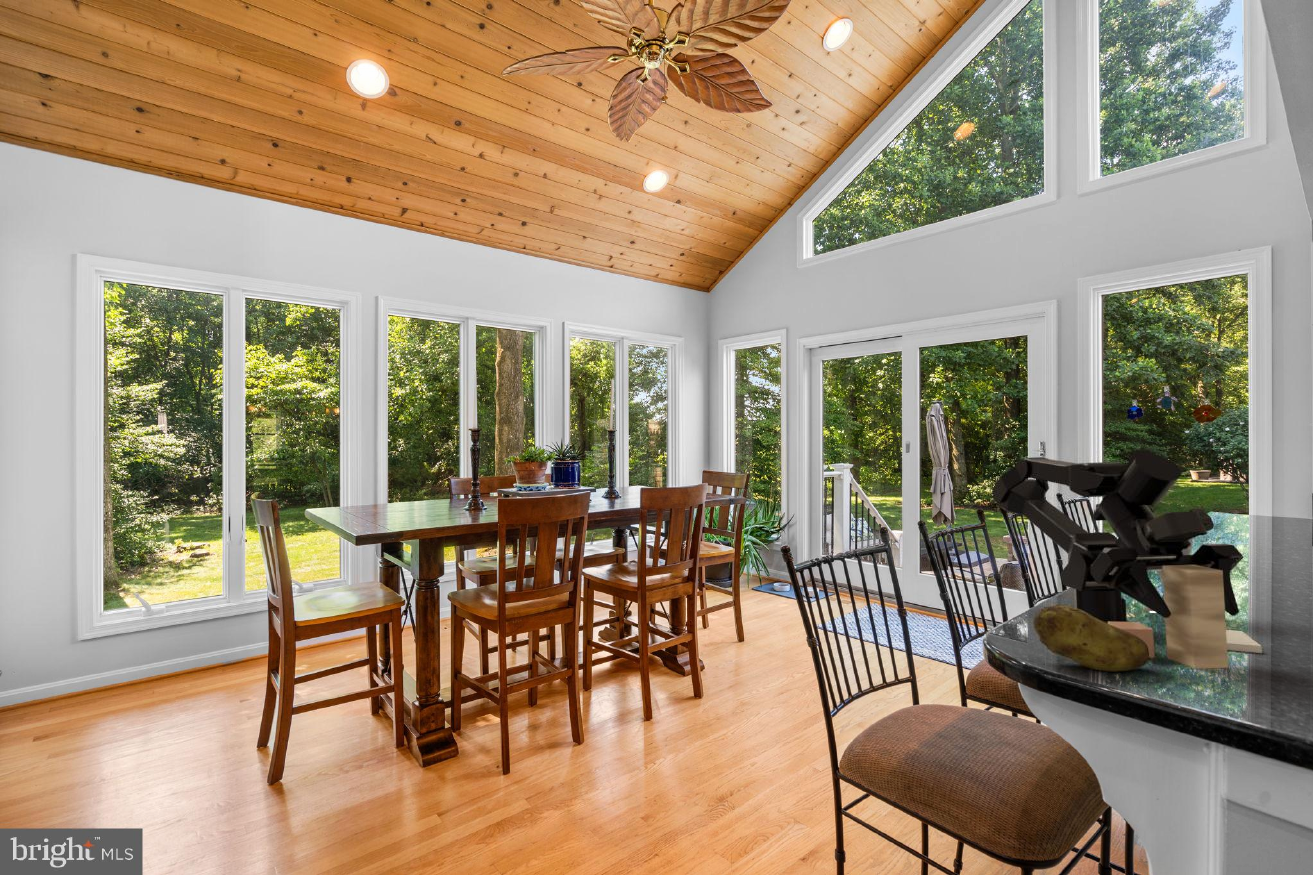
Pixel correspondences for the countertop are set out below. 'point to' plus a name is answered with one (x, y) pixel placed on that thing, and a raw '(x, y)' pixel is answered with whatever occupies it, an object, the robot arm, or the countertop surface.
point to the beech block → (1195, 616)
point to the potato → (1089, 640)
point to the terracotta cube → (1138, 633)
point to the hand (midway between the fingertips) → (1202, 615)
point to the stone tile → (1241, 642)
